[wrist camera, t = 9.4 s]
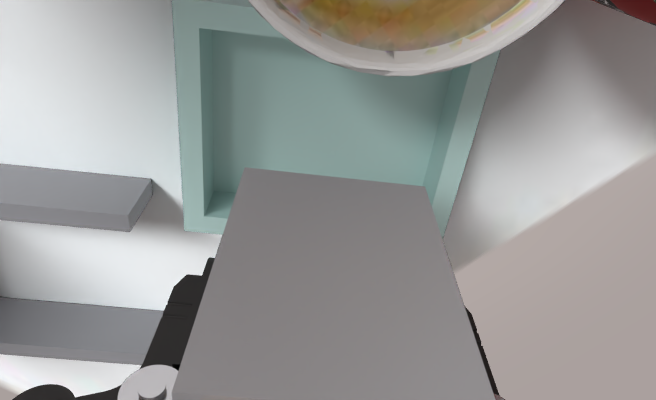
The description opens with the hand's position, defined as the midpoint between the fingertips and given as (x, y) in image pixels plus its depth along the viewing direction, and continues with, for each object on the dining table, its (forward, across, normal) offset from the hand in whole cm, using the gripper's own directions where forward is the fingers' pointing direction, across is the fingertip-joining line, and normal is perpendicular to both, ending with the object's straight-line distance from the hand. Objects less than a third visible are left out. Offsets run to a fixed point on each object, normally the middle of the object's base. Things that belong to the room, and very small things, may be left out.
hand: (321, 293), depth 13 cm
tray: (+12, 0, 0) cm, 12 cm away
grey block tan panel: (+1, 0, 0) cm, 1 cm away
